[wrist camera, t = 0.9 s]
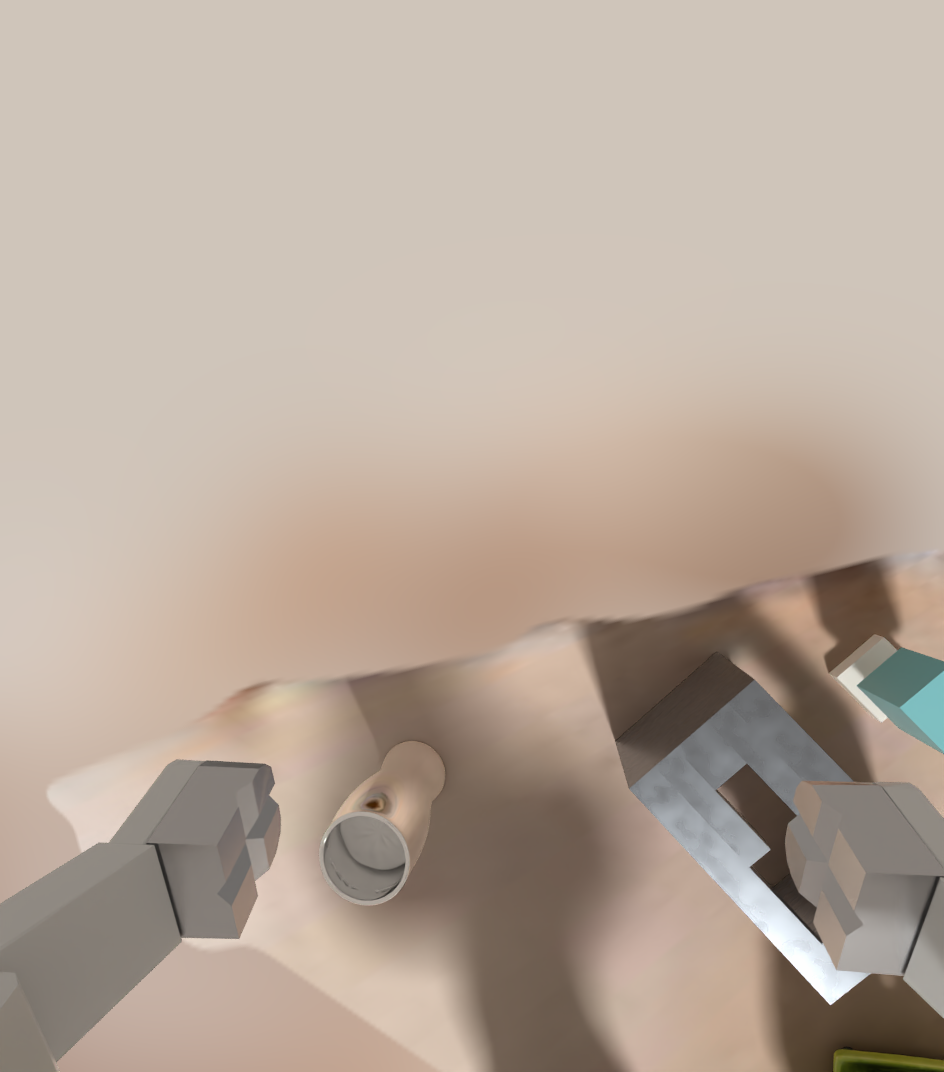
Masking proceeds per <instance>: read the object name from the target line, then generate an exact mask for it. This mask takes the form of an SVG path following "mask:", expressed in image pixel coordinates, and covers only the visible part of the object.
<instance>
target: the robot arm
mask: <svg viewBox="0 0 944 1072" xmlns="http://www.w3.org/2000/svg"><path fill="white" fill-rule="evenodd" d="M274 784H275V782H274V778H273V773H272V769H271V767H270V766H268V765H266V764H258V763H241V762H223V761H193V760H178V759H177V760H175V761H173V762H171V763H170V764H168V765H167V766H166V767H165V769H164V770H163V771H162V773H161V774H160V775H159V777H158V778H157V779H156V781H155V782H154V783H153V785H152V786H151V787H150V789H149V790H148V791H147V793H146V794H145V795H144V797H143V798H142V799H141V801H140V802H139V803H138V805H137V806H136V807H135V809H134V810H133V811H132V813H131V814H130V815H129V817H128V818H127V819H126V821H125V822H124V823H123V825H122V826H121V827H120V829H119V830H118V831H117V832H116V834H115V835H114V836H113V838H112V839H111V840H110V842H109V843H98V844H96V845H94V846H93V847H91V848H90V849H88V850H86V851H85V852H83V853H81V854H80V855H78V856H77V857H75V858H73V859H72V860H70V861H68V862H67V863H65V864H64V865H62V866H60V867H59V868H57V869H56V870H54V871H52V872H51V873H49V874H47V875H46V876H44V877H43V878H41V879H39V880H38V881H36V882H34V883H33V884H31V885H30V886H28V887H26V888H25V889H23V890H22V891H20V892H18V893H17V894H15V895H14V896H12V897H10V898H9V899H7V900H5V901H4V902H2V903H1V904H0V1072H60V1070H59V1068H58V1066H57V1063H56V1062H57V1061H58V1060H59V1059H60V1058H61V1057H62V1056H63V1055H64V1054H66V1053H67V1052H68V1050H70V1049H71V1048H72V1047H73V1046H74V1045H75V1044H76V1043H77V1042H78V1041H79V1040H80V1039H81V1038H82V1037H83V1036H84V1035H85V1034H86V1033H87V1032H88V1031H89V1030H90V1029H91V1028H93V1027H94V1025H96V1024H97V1023H98V1022H99V1021H100V1020H101V1019H102V1018H103V1017H104V1016H105V1015H106V1014H107V1013H108V1012H109V1011H110V1010H111V1009H112V1008H113V1007H114V1006H115V1005H116V1004H117V1003H118V1002H119V1001H120V1000H121V999H123V998H124V997H125V996H126V995H127V994H128V993H129V992H130V991H131V990H132V989H133V988H134V987H135V986H136V985H137V984H138V983H139V982H140V981H141V980H142V979H143V978H144V977H145V976H146V975H147V974H148V973H150V971H152V970H153V969H154V968H155V967H156V966H157V965H158V964H159V963H160V962H161V961H162V960H163V959H164V958H165V957H166V956H167V955H168V954H169V953H170V952H171V951H172V950H173V949H174V948H175V947H176V946H178V945H179V943H181V941H182V939H181V938H224V939H239V938H240V936H241V933H242V931H243V929H244V927H245V924H246V922H247V920H248V917H249V915H250V913H251V911H252V908H253V906H254V904H255V901H256V899H257V897H258V894H257V889H256V884H255V881H256V880H257V879H258V878H259V877H260V876H262V875H263V874H264V873H265V872H267V871H268V870H269V869H270V866H271V864H272V861H273V859H274V857H275V854H276V851H277V847H278V842H279V837H280V832H281V816H280V810H279V805H278V804H277V803H276V802H275V801H274V800H273V799H272V798H271V797H270V796H269V794H270V792H271V790H272V788H273V786H274ZM793 802H794V803H795V805H796V807H797V809H798V811H799V813H800V814H799V815H798V816H796V817H795V818H794V819H793V820H792V821H790V822H789V823H788V826H787V832H786V837H785V848H786V858H787V863H788V867H789V870H790V873H791V877H792V879H793V881H794V883H795V885H796V887H797V890H798V892H799V893H800V894H801V895H802V896H804V897H805V898H806V899H807V900H808V901H810V902H811V903H812V904H813V905H814V906H816V907H817V909H816V913H815V917H814V921H813V923H814V925H815V927H816V929H817V931H818V934H819V936H820V938H821V940H822V942H823V944H824V946H825V948H826V950H827V952H828V954H829V956H830V958H831V960H832V962H833V964H834V966H835V969H836V970H838V971H850V972H862V973H874V974H887V975H899V976H904V978H903V980H904V981H905V982H906V983H907V984H908V985H909V986H910V987H911V988H912V989H914V990H915V991H916V992H917V993H918V994H919V995H920V996H921V997H922V998H923V999H924V1000H925V1001H926V1002H927V1003H928V1004H929V1005H930V1006H931V1007H932V1008H933V1009H934V1010H935V1011H936V1012H937V1013H938V1014H939V1015H941V1016H942V1017H943V1018H944V818H943V817H942V816H941V815H940V813H939V812H938V811H937V810H936V809H935V807H934V806H933V805H932V804H931V803H930V801H929V800H928V799H927V798H926V797H925V795H924V794H923V793H922V792H921V791H920V790H919V789H918V788H917V787H915V786H914V785H912V784H910V783H898V782H872V783H868V782H833V781H801V782H800V784H799V785H798V786H797V788H796V791H795V795H794V799H793Z"/></svg>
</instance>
